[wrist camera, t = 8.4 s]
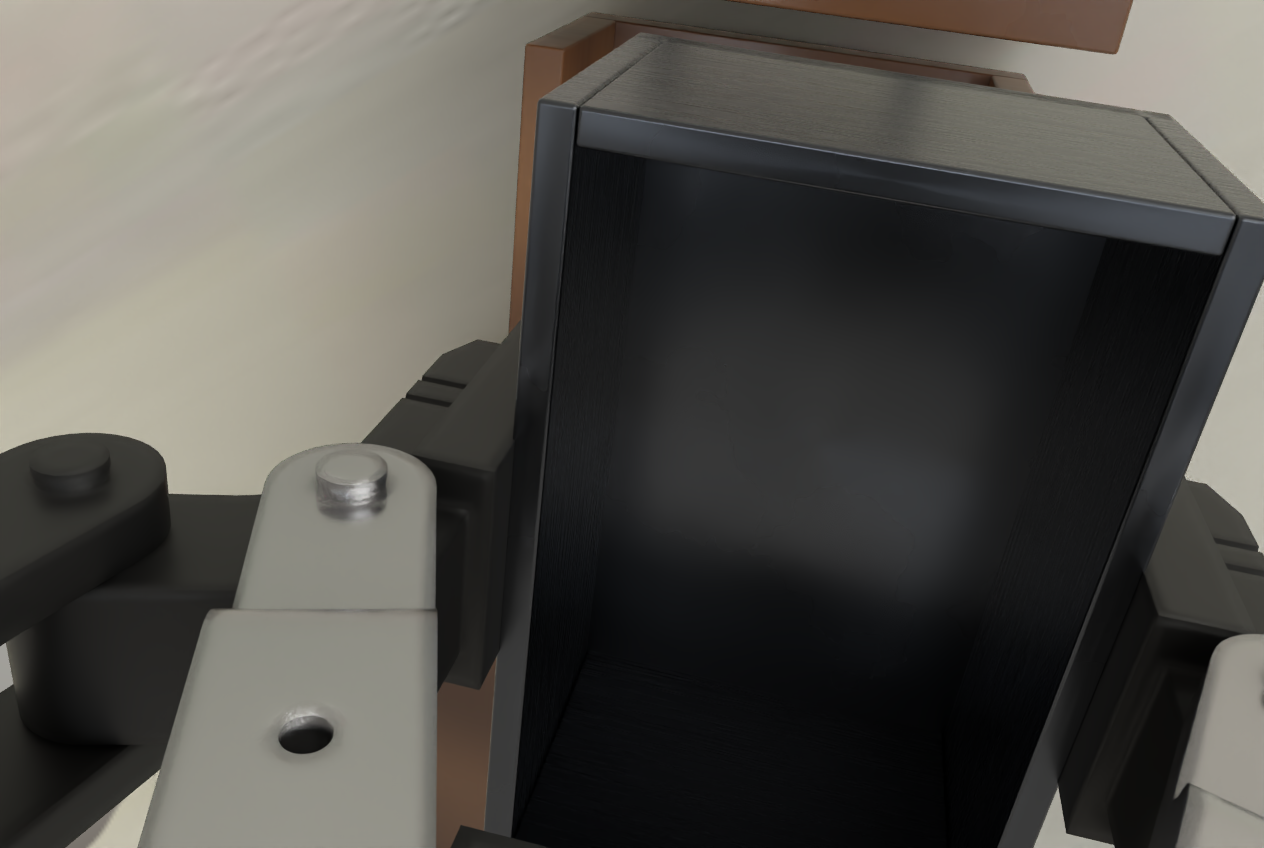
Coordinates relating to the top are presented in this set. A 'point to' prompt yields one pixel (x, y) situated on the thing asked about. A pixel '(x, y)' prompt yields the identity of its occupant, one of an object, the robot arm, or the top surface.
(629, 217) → the tray
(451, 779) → the cabinet
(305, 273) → the top surface
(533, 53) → the drawer
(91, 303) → the top surface
